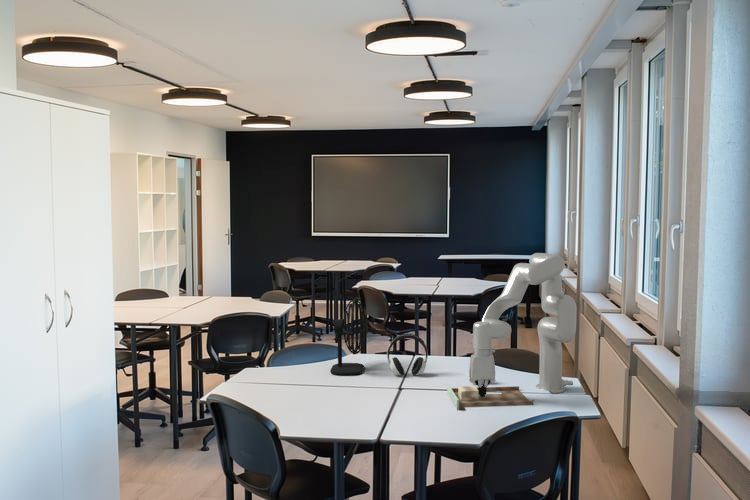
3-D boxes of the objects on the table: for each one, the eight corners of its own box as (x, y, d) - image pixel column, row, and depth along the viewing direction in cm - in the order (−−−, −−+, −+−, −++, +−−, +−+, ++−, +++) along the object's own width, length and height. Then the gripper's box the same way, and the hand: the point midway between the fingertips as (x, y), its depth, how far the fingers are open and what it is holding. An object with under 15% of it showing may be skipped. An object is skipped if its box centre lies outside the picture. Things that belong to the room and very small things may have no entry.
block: (474, 395, 293) (474, 386, 293) (478, 400, 286) (478, 390, 286) (458, 396, 293) (458, 386, 292) (461, 400, 286) (461, 391, 285)
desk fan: (365, 378, 327) (364, 303, 324) (327, 377, 328) (326, 303, 326) (369, 364, 354) (368, 295, 351) (334, 364, 355) (334, 295, 353)
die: (483, 389, 309) (493, 370, 312) (466, 379, 311) (476, 360, 313) (480, 390, 317) (490, 372, 320) (463, 380, 318) (474, 362, 321)
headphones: (427, 373, 336) (426, 331, 334) (428, 377, 327) (428, 335, 326) (386, 373, 335) (386, 332, 334) (387, 378, 327) (387, 335, 325)
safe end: (449, 394, 299) (449, 385, 299) (458, 409, 278) (458, 399, 277) (447, 394, 299) (447, 385, 299) (456, 409, 278) (456, 400, 277)
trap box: (518, 392, 301) (518, 386, 301) (533, 407, 280) (533, 400, 280) (449, 394, 299) (449, 388, 299) (458, 409, 278) (458, 403, 277)
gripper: (498, 349, 292) (498, 393, 293) (462, 350, 291) (462, 394, 292) (502, 353, 284) (502, 398, 286) (466, 354, 283) (466, 399, 285)
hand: (482, 396), depth 289 cm, fingers closed
